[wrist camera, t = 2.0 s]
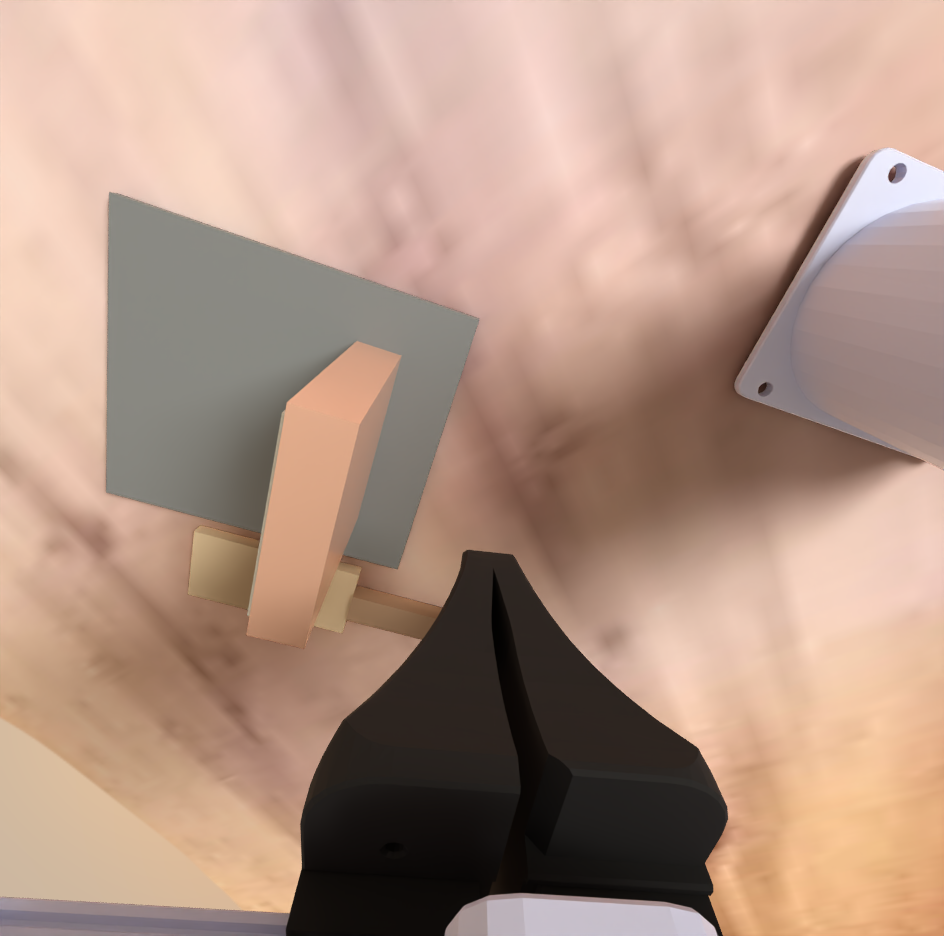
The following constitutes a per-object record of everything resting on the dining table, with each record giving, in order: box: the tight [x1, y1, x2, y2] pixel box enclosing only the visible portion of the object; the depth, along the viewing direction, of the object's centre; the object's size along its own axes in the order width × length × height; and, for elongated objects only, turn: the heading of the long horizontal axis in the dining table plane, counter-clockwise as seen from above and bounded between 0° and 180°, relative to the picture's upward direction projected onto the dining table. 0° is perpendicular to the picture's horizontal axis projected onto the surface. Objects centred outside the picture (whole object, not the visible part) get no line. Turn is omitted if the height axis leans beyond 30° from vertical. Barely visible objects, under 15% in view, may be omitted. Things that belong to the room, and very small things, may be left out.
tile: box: [246, 341, 401, 649], centre depth 15 cm, size 2×7×7 cm, turn 161°
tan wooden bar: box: [188, 525, 442, 639], centre depth 22 cm, size 16×4×1 cm, turn 72°
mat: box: [106, 192, 479, 569], centre depth 18 cm, size 12×11×1 cm
